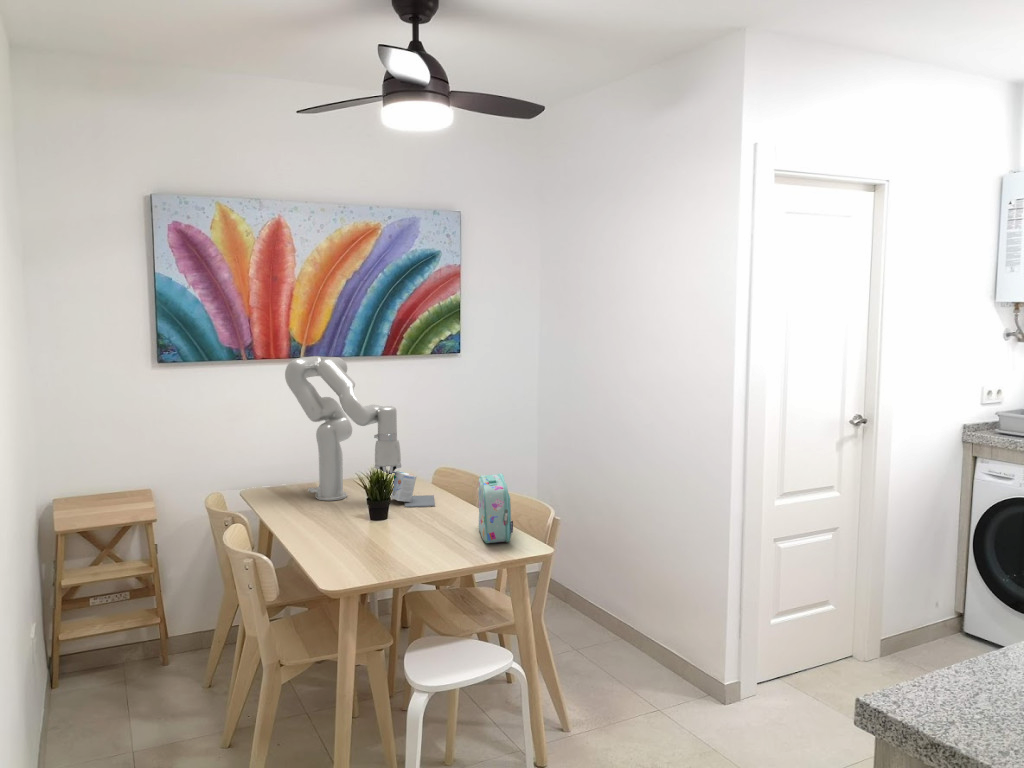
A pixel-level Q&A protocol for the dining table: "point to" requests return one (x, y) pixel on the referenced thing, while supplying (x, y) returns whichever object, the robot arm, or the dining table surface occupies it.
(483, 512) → the lunch box
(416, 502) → the mat
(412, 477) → the light bulb box
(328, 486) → the robot arm
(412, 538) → the dining table surface
